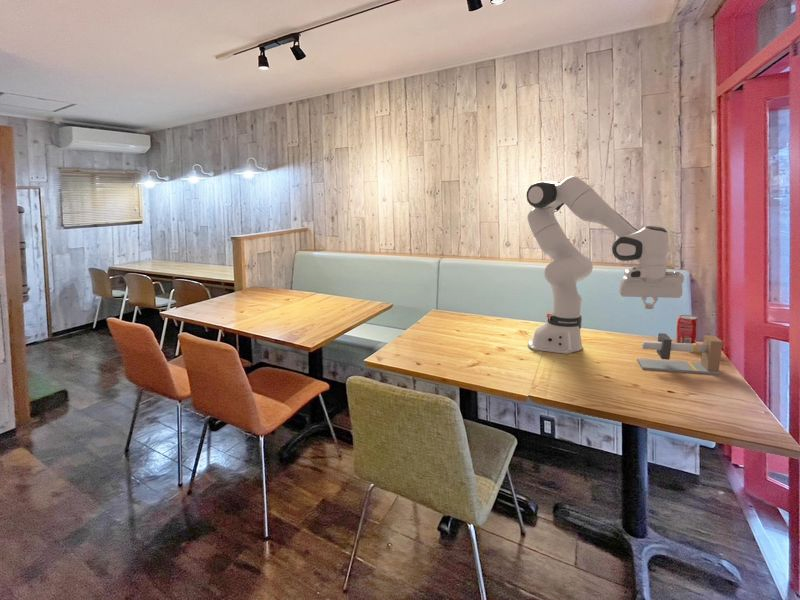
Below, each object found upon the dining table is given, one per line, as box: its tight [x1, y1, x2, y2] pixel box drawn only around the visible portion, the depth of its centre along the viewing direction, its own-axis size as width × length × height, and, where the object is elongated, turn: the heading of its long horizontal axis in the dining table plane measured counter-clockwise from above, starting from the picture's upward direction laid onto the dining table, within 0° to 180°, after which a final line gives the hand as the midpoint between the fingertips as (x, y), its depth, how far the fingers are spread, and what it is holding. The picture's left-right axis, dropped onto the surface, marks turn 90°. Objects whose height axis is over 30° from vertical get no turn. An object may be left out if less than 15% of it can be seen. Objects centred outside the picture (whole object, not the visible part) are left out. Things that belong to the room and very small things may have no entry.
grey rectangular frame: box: [656, 332, 673, 361], centre depth 166 cm, size 2×8×8 cm, turn 163°
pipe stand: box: [636, 334, 724, 376], centre depth 165 cm, size 25×9×12 cm, turn 73°
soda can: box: [674, 314, 699, 344], centre depth 185 cm, size 7×7×13 cm
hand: (648, 308), depth 164 cm, fingers closed
